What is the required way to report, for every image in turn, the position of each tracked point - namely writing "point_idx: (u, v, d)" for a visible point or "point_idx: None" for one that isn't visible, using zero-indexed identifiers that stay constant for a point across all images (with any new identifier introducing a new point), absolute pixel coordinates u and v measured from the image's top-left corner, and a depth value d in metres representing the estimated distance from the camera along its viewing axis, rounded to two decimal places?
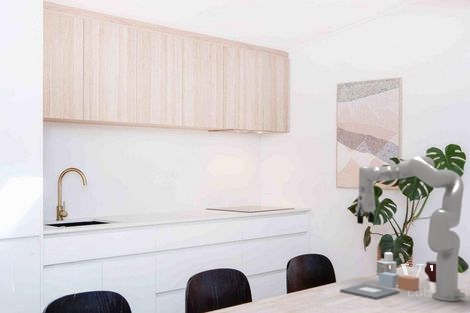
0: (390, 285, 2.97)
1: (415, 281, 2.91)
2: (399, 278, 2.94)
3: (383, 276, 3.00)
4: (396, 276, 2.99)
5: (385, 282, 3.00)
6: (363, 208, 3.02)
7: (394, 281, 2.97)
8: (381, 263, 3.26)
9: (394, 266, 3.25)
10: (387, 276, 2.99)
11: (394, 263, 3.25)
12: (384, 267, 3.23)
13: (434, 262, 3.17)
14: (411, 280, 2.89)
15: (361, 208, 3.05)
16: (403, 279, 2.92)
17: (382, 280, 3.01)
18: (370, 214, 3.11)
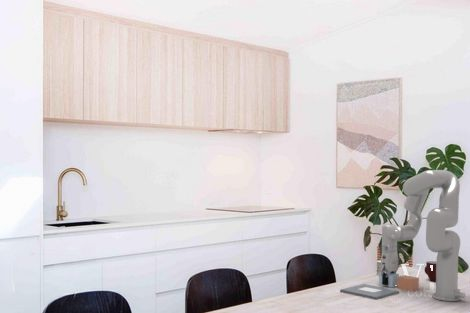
0: (390, 285, 2.97)
1: (415, 281, 2.91)
2: (399, 278, 2.94)
3: None
4: (396, 276, 2.99)
5: None
6: (386, 268, 2.97)
7: (394, 281, 2.97)
8: None
9: None
10: None
11: None
12: None
13: (434, 262, 3.17)
14: (411, 280, 2.89)
15: None
16: (403, 279, 2.92)
17: (381, 280, 3.01)
18: None
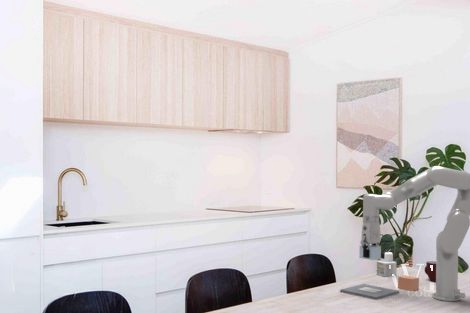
0: (371, 257, 2.80)
1: (415, 281, 2.91)
2: (399, 278, 2.94)
3: None
4: (377, 248, 2.82)
5: None
6: (368, 239, 2.79)
7: (375, 253, 2.80)
8: (381, 263, 3.26)
9: (394, 266, 3.25)
10: None
11: (394, 263, 3.25)
12: (384, 267, 3.23)
13: (434, 262, 3.17)
14: (411, 280, 2.89)
15: (366, 240, 2.82)
16: (403, 279, 2.92)
17: (362, 253, 2.84)
18: None
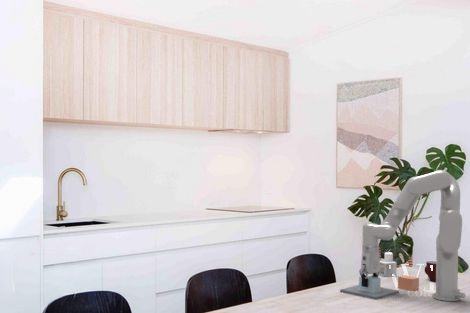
0: (370, 289, 2.80)
1: (415, 281, 2.91)
2: (399, 278, 2.94)
3: None
4: (377, 280, 2.81)
5: None
6: (367, 269, 2.79)
7: (374, 285, 2.80)
8: (381, 263, 3.26)
9: (394, 266, 3.25)
10: None
11: (394, 263, 3.25)
12: (384, 267, 3.23)
13: (434, 262, 3.17)
14: (411, 280, 2.89)
15: (365, 269, 2.82)
16: (403, 279, 2.92)
17: None
18: (374, 275, 2.87)
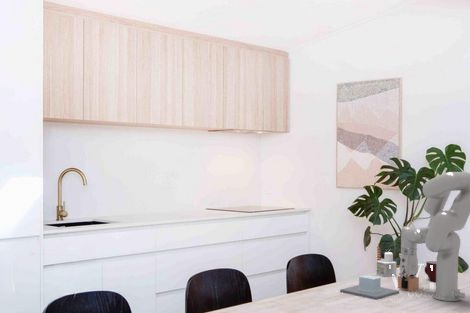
0: (370, 289, 2.80)
1: (415, 281, 2.91)
2: (399, 278, 2.94)
3: (363, 280, 2.83)
4: (377, 280, 2.81)
5: (365, 286, 2.82)
6: (406, 271, 2.89)
7: (374, 285, 2.80)
8: (381, 263, 3.26)
9: (394, 266, 3.25)
10: (367, 280, 2.81)
11: (394, 263, 3.25)
12: (384, 267, 3.23)
13: (434, 262, 3.17)
14: (411, 280, 2.89)
15: (404, 271, 2.92)
16: None
17: (362, 284, 2.84)
18: None
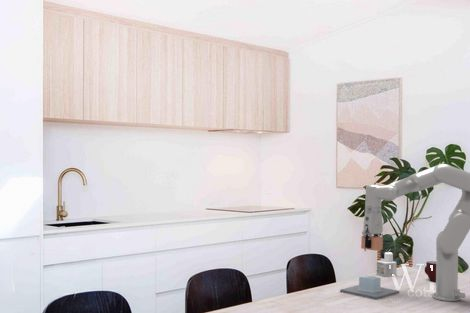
0: (370, 289, 2.80)
1: (379, 240, 2.82)
2: (362, 237, 2.85)
3: (363, 280, 2.83)
4: (377, 280, 2.81)
5: (365, 286, 2.82)
6: (369, 230, 2.80)
7: (374, 285, 2.80)
8: (381, 263, 3.26)
9: (394, 266, 3.25)
10: (367, 280, 2.81)
11: (394, 263, 3.25)
12: (384, 267, 3.23)
13: (434, 262, 3.17)
14: (374, 239, 2.80)
15: (368, 230, 2.83)
16: None
17: (362, 284, 2.84)
18: None
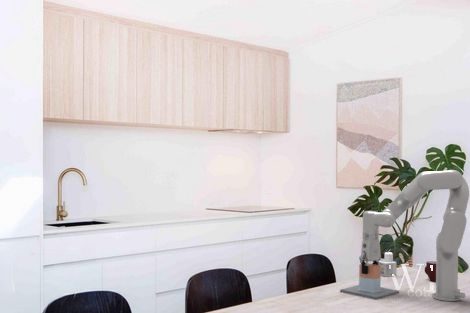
0: (370, 289, 2.80)
1: (377, 269, 2.81)
2: (360, 266, 2.84)
3: (363, 280, 2.83)
4: (377, 280, 2.81)
5: (365, 286, 2.82)
6: (367, 257, 2.79)
7: (374, 285, 2.80)
8: (381, 263, 3.26)
9: (394, 266, 3.25)
10: (367, 280, 2.81)
11: (394, 263, 3.25)
12: (384, 267, 3.23)
13: (434, 262, 3.17)
14: (372, 268, 2.79)
15: (365, 257, 2.82)
16: None
17: (362, 284, 2.84)
18: (374, 262, 2.87)
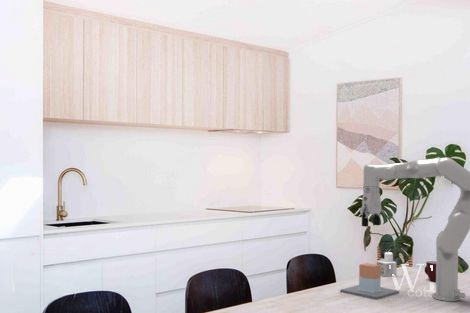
0: (370, 289, 2.80)
1: (377, 269, 2.81)
2: (360, 266, 2.84)
3: (363, 280, 2.83)
4: (377, 280, 2.81)
5: (365, 286, 2.82)
6: (368, 210, 2.79)
7: (374, 285, 2.80)
8: (381, 263, 3.26)
9: (394, 266, 3.25)
10: (367, 280, 2.81)
11: (394, 263, 3.25)
12: (384, 267, 3.23)
13: (434, 262, 3.17)
14: (372, 268, 2.79)
15: (366, 210, 2.82)
16: (364, 267, 2.83)
17: (362, 284, 2.84)
18: (375, 216, 2.87)
